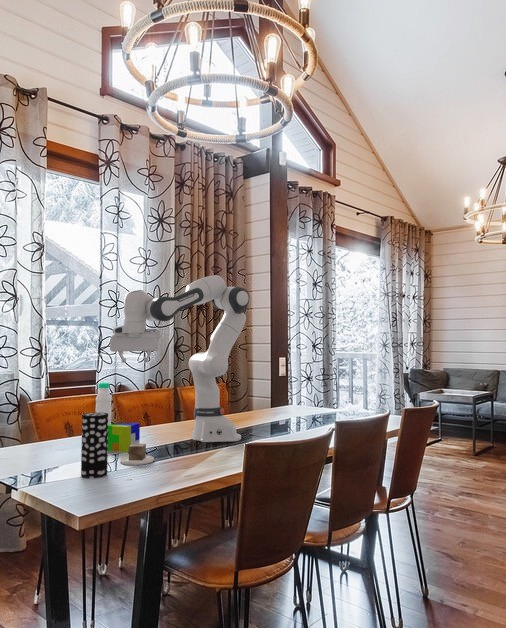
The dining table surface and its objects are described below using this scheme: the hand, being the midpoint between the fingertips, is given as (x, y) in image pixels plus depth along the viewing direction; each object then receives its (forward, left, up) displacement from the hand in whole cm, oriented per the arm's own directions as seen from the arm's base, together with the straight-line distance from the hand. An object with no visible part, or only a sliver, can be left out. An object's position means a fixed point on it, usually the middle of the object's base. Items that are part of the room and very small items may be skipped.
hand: (135, 362), depth 215 cm
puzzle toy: (+5, 0, -36) cm, 36 cm away
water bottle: (+21, -24, -36) cm, 48 cm away
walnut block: (-7, +22, -34) cm, 41 cm away
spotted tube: (+2, +42, -36) cm, 55 cm away
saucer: (-7, +22, -35) cm, 42 cm away
